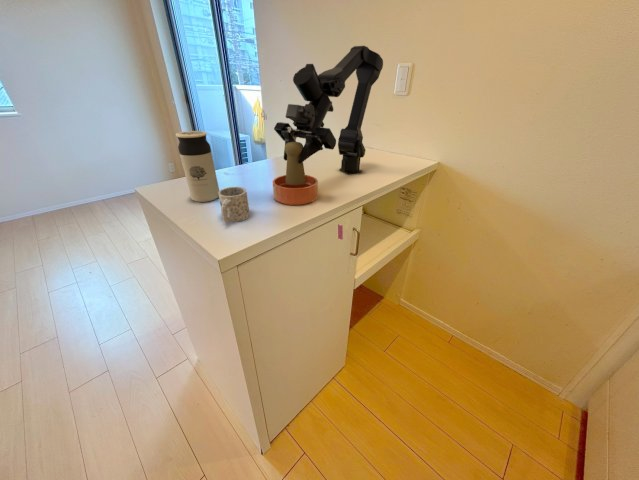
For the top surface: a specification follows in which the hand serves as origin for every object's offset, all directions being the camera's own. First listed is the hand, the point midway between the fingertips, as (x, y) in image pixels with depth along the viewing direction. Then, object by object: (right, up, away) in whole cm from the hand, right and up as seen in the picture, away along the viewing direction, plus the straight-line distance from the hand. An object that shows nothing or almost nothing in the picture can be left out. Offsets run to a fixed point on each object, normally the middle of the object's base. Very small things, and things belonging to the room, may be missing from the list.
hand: (291, 161), depth 72 cm
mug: (-14, -17, -6) cm, 23 cm away
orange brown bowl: (+1, -9, +7) cm, 11 cm away
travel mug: (-26, -9, +6) cm, 28 cm away
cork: (+1, -5, +4) cm, 7 cm away
